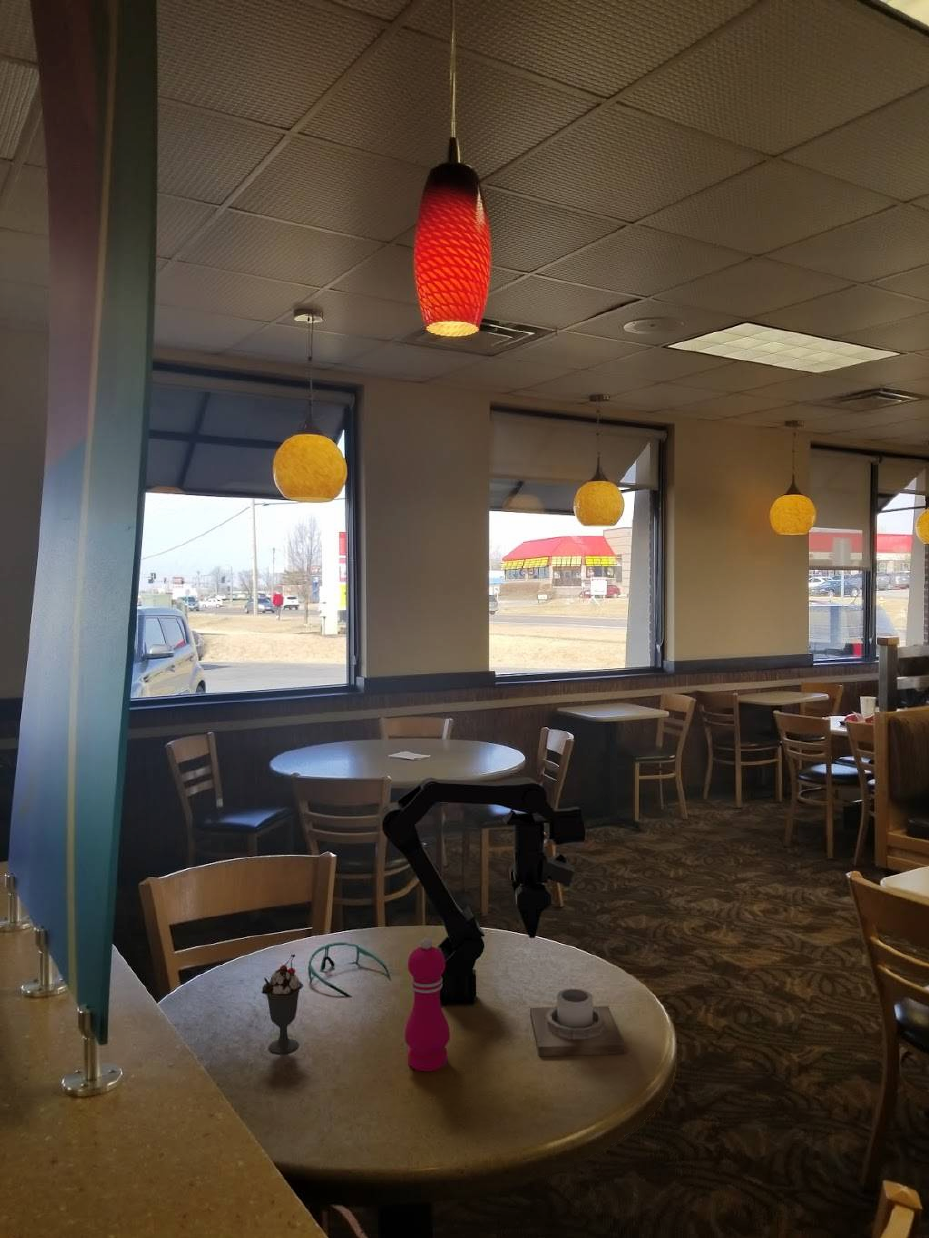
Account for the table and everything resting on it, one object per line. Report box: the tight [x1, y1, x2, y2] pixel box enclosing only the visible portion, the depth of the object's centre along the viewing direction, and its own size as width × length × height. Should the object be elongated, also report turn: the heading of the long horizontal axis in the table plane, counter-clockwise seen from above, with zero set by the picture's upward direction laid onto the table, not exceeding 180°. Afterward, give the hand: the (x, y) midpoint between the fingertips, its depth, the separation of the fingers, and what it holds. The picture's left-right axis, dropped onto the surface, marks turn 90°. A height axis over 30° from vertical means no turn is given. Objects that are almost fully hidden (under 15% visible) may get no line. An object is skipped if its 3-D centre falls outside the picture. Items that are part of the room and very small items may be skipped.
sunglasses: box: [307, 941, 392, 998], centre depth 177 cm, size 14×15×5 cm
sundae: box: [261, 954, 304, 1055], centre depth 150 cm, size 7×7×15 cm
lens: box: [556, 988, 594, 1028], centre depth 153 cm, size 6×6×5 cm
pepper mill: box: [404, 937, 451, 1072], centre depth 144 cm, size 7×7×20 cm
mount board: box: [529, 1005, 626, 1057], centre depth 153 cm, size 14×14×3 cm
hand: (529, 928), depth 170 cm, fingers open, 9 cm apart
